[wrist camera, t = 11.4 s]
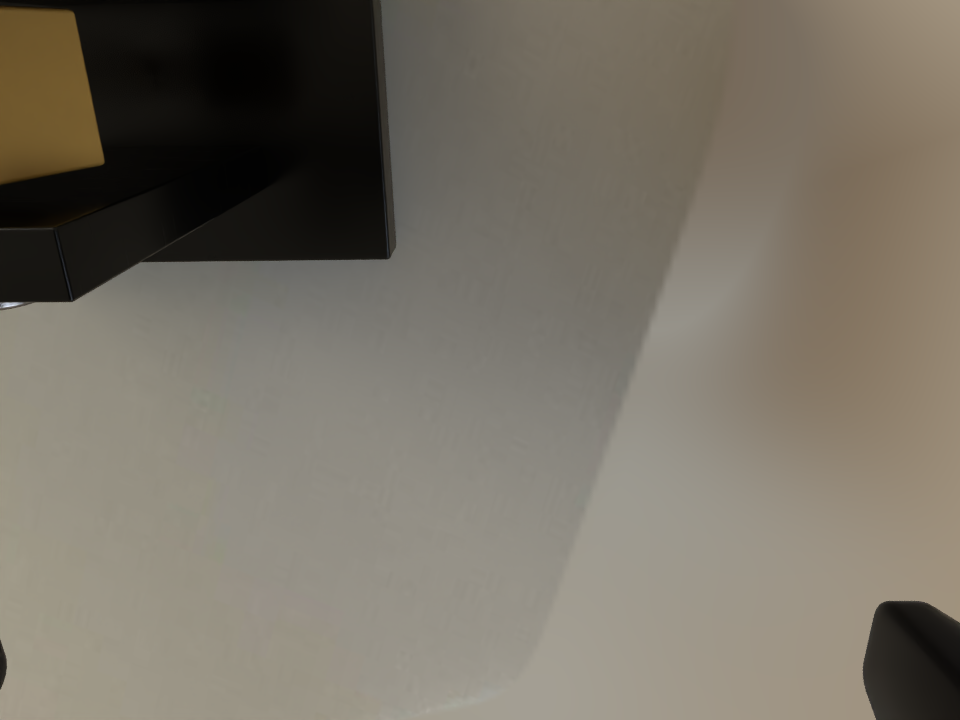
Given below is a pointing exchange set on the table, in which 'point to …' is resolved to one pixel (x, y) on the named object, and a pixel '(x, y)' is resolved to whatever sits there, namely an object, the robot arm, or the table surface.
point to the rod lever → (44, 96)
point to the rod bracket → (212, 144)
